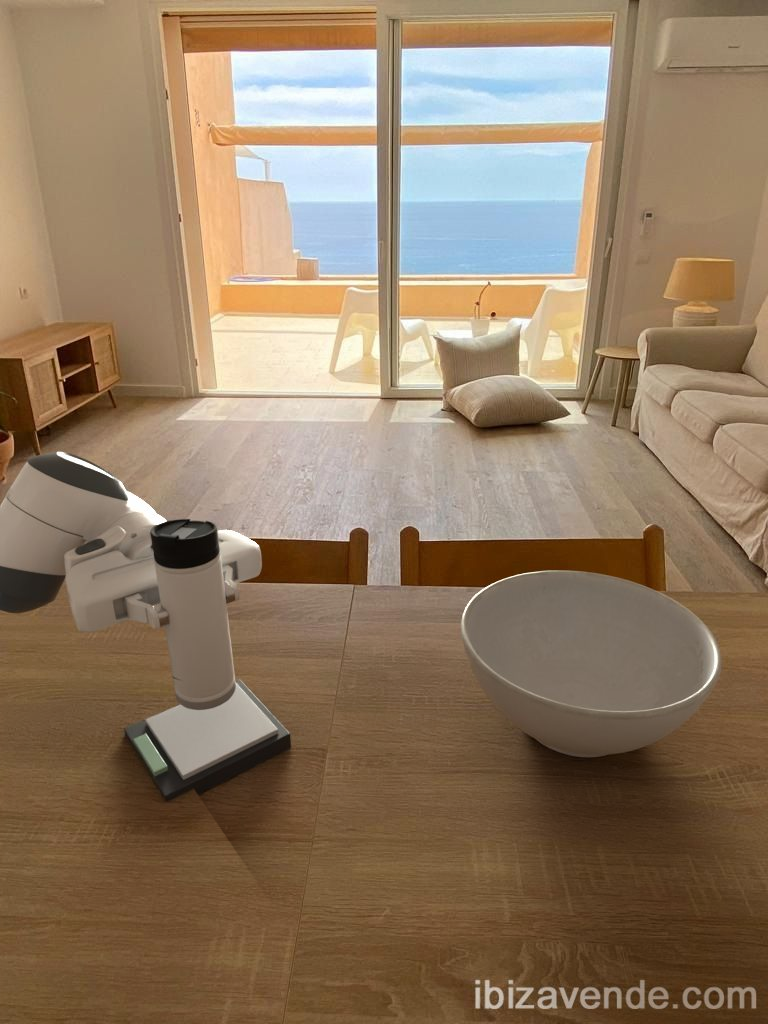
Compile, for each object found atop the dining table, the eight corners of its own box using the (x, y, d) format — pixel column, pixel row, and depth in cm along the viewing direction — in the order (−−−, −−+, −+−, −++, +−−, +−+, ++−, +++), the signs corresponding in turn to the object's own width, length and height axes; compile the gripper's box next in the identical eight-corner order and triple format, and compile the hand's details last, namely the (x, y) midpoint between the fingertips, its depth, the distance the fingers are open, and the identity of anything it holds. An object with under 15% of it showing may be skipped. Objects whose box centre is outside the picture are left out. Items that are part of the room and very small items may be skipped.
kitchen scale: (167, 811, 68) (164, 791, 67) (126, 742, 77) (122, 723, 76) (291, 747, 76) (290, 729, 75) (241, 691, 84) (239, 674, 83)
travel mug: (163, 708, 72) (133, 535, 63) (193, 670, 78) (169, 506, 69) (218, 718, 70) (195, 542, 62) (245, 678, 76) (227, 512, 68)
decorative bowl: (508, 628, 96) (513, 551, 91) (717, 691, 84) (737, 605, 79) (415, 749, 75) (417, 657, 70) (676, 856, 63) (699, 754, 58)
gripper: (233, 554, 86) (290, 601, 76) (59, 609, 74) (99, 672, 65) (228, 508, 83) (287, 550, 73) (47, 557, 72) (87, 615, 62)
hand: (197, 608), depth 69 cm, fingers closed on travel mug, 6 cm apart
